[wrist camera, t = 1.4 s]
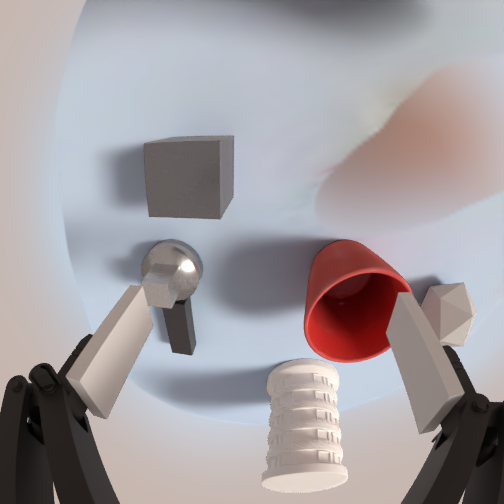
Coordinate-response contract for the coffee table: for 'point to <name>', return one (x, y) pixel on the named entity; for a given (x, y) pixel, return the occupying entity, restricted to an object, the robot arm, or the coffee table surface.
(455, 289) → the die
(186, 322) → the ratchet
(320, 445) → the decorative container
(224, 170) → the grey wood-grain cube
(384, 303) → the flower pot
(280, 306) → the coffee table surface
